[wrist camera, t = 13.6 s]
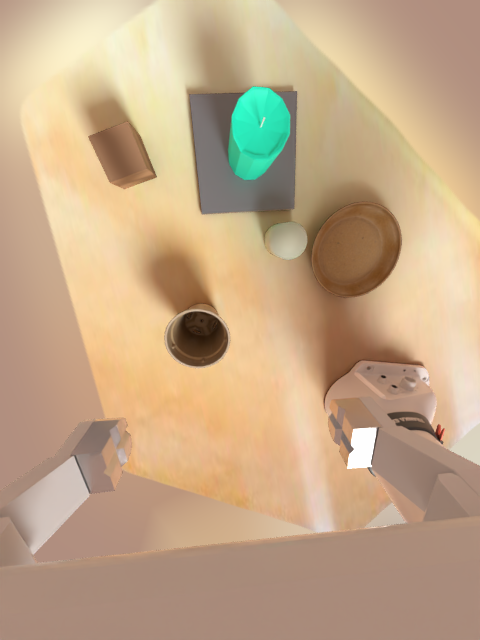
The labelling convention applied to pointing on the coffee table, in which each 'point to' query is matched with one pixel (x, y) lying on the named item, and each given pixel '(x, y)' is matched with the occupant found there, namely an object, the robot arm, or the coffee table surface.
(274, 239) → the white rounded capsule
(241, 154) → the candle
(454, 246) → the coffee table surface
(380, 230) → the plant saucer
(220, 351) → the flower pot
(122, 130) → the walnut cube
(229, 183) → the coaster
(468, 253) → the coffee table surface
